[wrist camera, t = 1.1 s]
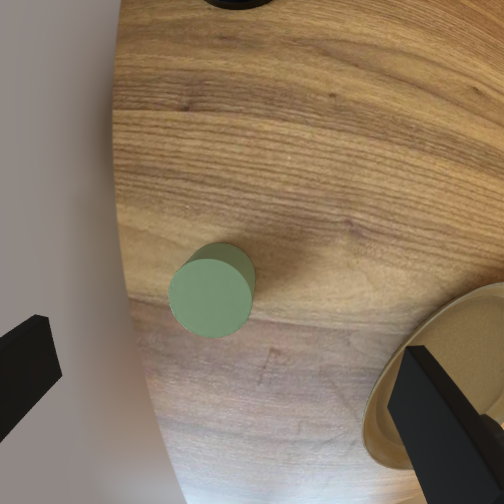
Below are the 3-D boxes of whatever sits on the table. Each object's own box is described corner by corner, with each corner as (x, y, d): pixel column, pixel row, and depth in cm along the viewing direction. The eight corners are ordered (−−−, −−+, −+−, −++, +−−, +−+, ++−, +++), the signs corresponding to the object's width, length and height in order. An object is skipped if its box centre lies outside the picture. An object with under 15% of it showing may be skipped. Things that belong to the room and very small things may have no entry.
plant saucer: (539, 366, 26) (552, 377, 23) (403, 474, 30) (409, 491, 27) (501, 222, 23) (523, 227, 19) (308, 380, 27) (312, 403, 24)
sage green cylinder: (172, 272, 25) (152, 293, 20) (222, 228, 24) (211, 240, 19) (218, 321, 26) (208, 352, 21) (270, 281, 25) (270, 305, 20)
